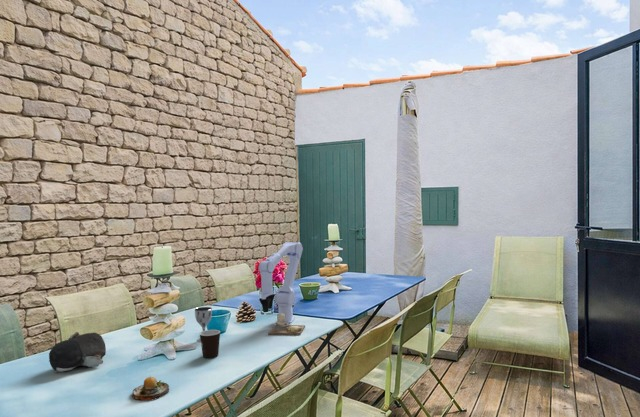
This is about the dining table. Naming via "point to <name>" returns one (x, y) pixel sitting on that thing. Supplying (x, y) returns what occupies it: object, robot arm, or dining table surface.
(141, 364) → the dining table surface
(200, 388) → the dining table surface
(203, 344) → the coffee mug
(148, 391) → the brimmed hat
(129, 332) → the dining table surface
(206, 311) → the wine glass
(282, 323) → the planet hub
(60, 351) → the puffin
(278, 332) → the plate
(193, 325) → the dining table surface
